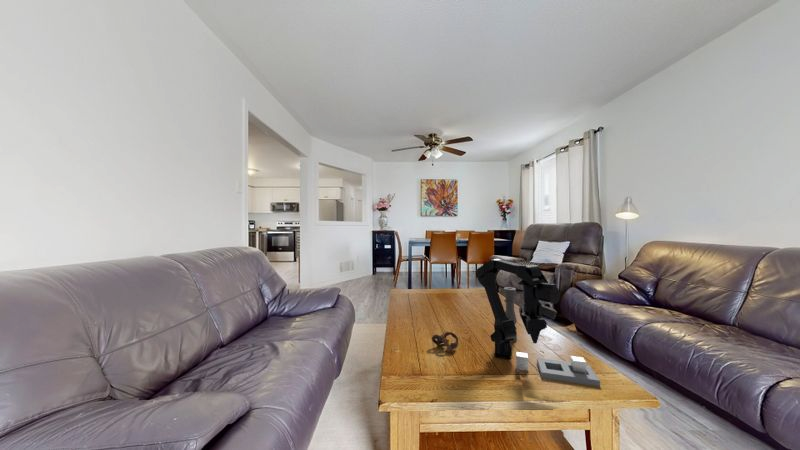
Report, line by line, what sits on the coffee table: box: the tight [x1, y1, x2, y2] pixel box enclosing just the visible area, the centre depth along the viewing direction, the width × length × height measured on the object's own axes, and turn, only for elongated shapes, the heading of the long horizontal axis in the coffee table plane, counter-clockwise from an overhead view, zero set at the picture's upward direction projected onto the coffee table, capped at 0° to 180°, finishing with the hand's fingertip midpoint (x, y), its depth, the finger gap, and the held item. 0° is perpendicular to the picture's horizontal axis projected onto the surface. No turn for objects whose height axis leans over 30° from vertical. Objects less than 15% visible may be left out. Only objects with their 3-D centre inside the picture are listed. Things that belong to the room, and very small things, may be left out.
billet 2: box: [570, 355, 587, 374], centre depth 104 cm, size 4×4×6 cm
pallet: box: [536, 357, 601, 387], centre depth 105 cm, size 18×12×3 cm, turn 71°
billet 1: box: [515, 351, 529, 373], centre depth 110 cm, size 4×4×6 cm
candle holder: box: [503, 286, 518, 342], centre depth 140 cm, size 6×6×25 cm
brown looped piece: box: [431, 331, 459, 353], centre depth 130 cm, size 12×10×8 cm
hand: (532, 338), depth 109 cm, fingers open, 9 cm apart
